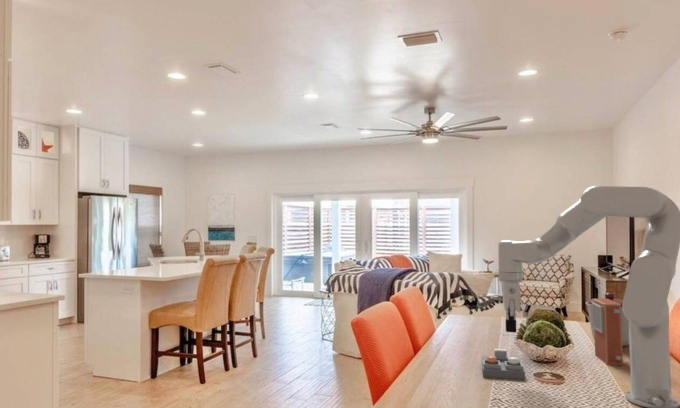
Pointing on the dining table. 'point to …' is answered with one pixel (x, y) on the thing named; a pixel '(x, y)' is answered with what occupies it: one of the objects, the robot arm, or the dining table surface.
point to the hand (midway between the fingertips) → (510, 331)
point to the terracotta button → (491, 359)
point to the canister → (624, 320)
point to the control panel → (607, 331)
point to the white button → (513, 360)
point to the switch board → (502, 369)
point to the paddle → (501, 354)
